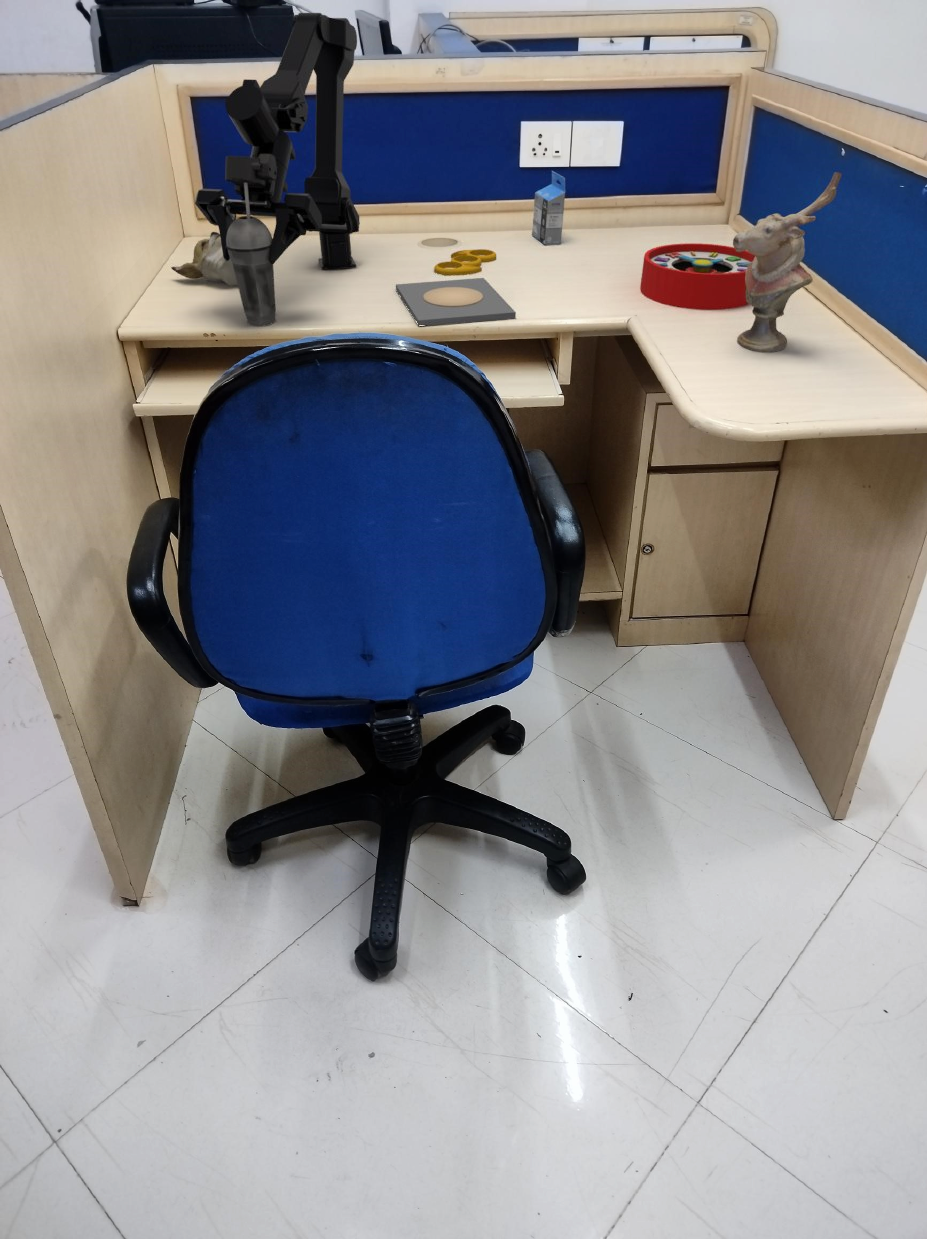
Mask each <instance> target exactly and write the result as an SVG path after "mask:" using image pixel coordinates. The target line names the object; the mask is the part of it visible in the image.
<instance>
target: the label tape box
mask: <svg viewBox="0 0 927 1239" xmlns="http://www.w3.org/2000/svg"><path fill="white" fill-rule="evenodd" d="M557 181H558V182H560V184H559V183H557ZM565 198H566V178H565V177H564V176H562V175H561V174H559V173H557V172H555V171H553V170H551V183H550V184H549V185H547V186H545V187H543V188H542V189H539V190H537V191H536V192H535V193H534V200H533V201H534V203H533V214H532V215H533V218H532V228H531V230H532V231H531V235H532V236H533V237H534V238H535V239H537V240H539V242H540V243H542V244H543V245H549V246H557V245H561V244H562V235H563V233H562V232H563V223H564V222H563V221H564V214H565V212H564V211H565V210H564V209H565Z"/></svg>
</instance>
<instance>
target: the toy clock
mask: <svg viewBox="0 0 927 1239" xmlns="http://www.w3.org/2000/svg"><path fill="white" fill-rule="evenodd" d="M754 258H755V255H753V254H751V253H749V252H748V251H747V250H745V251H742V252H737V251H736V250H735V248H734V246H729V245H728V246H727V245H722V244H714V243H713V244H712V243H702V242H701V243H697V242H696V243H695V242H693V243H691V242H689V243H687V242H686V243H672V244H665V245H660V246H656V247H653V248H651V249H649V250H647V251H646V252H645V253H644V256H643V262H642V271H641V278H640V279H641V280H640V285H639V286H640V287H639V289H640V293H641V294H642V295H643V296H644V297H645V298H646V299H649V300H651V301H654V302H656V303H659V304H662V305H666V306H669V307H676V308H680V309H687V310H699V311H700V310H701V311H717V310H718V311H719V310H720V311H721V310H730V309H732V310H733V309H737V308H742V307H746V306H748V305H749V304H748V303H747V301H746V283H745V282H746V281H745V277H746V269H747V267H748V265H749V264H750V263H751V262H752V261H754Z"/></svg>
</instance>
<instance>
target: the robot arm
mask: <svg viewBox="0 0 927 1239" xmlns="http://www.w3.org/2000/svg"><path fill="white" fill-rule="evenodd" d="M357 45H358V35H357V30H356V28H355V26H354V25H352V24H351V23H350V21H349V19H348V18H345V17H330V16H328V15H326V14H323V13H321V12H299V13H298V14H295V15H294V16H293V20H292V31H291V33H290V35H289V38H288V41H287V44H286V46H285V49H284V51H283V54H282V56H281V59H280V62H279V65H278V68H277V69H276V72H275V73H274V74H273V75H272V76H270V77H268V78H267V79H265V80H264V81H263V82H262V84H261V85H260V84H259V83H258V81H257V79H243V80H242V85H240V86H238V87H236V88H235V89H234V90H232V91H231V93H230V94H229V95H228V96H227V97H226V99H225V103H224V104H225V105H224V107H225V111H226V113H227V115H228V116H229V118H230V120H231V121H232V123H233V125H234V126H235V128H236V130H237V131H238V133H239V135H240V136H241V138H242V139H243V141H244V142H245V143H246V144H248V145H249V146H252V148H251V153H250V156H241V155H240V156H239V155H226V156H225V176H224V177H225V178H224V179H225V181H226V182H228V183H229V182H230V183H232V184H233V185H234V191H235V193H236V194H237V195H240V196H241V199H231V198H229V197H228V194H226V192H225V191H224V189H217V188H216V189H215V188H201V189H198V190H197V193H196V195H195V196H196V197H195V202H194V204H195V206H196V207H197V208H198V210H199V211H200V212H201V213H202V215H203V216H204V217H205V218H206V220H207V221H208V223H209V224H211V225H213V226H216V227H217V226H218V231H219V232H218V233H219V234H220V238H221V245H222V252H223V257H224V259H225V260H226V261H229V259H230V257H229V254H228V249H227V248H226V236H227V232H228V229H229V227H230V225H231V224H232V222H233V221H234V220H236V219H237V215H241V216H242V215H243V216H247V213H246V201H245V189H244V183H248V195H249V207H250V216H252V217H261V218H262V217H267V218H275V227H274V231H273V235H272V243H271V247H270V253H269V262H270V263H271V264H273V265H274V264H275V263H276V262H277V260H279V259H280V257H281V256H282V255H283V253H284V252H286V250H287V249H288V248H289V247H290V246H291V245H292V244H293V243H295V241H296V240H297V239H298V238H300V237H301V236H306V235H307V232H309V233H310V232H318V233H319V245H320V253H321V254H320V256H321V257H319V258H318V263H319V266H320V267H321V270H331V269H332V270H335V269H337V270H338V269H349V268H351V269H352V268H357V263H356V262H355V260H354V258H353V256H352V246H351V245H352V244H351V243H352V242H351V235H352V234H353V233H359V232H360V224H361V223H360V215H359V212H358V211H357V209H356V207H355V204H354V203H353V200H352V198H351V188H350V187H349V185H348V183H347V181H346V178H345V176H344V174H343V140H344V139H343V134H344V133H343V131H344V128H343V127H344V122H343V121H344V95H345V94H344V86H345V80H346V78H347V77H348V76H349V73H350V72H351V69H352V68H353V66H354V62H355V51H356V49H357ZM313 72H314V74H315V80H316V81H315V82H316V83H315V84H316V85H315V144H314V145H315V153H314V160H315V161H314V163H315V164H314V170H313V171H312V174H311V175H310V176H307V177H305V179H304V185H303V186H304V193H300V192H297V193H295V192H288V189H289V184H288V183H287V181H286V179H287V178H286V177H287V173H288V167H289V164H290V160H291V161H292V160H293V161H294V160H296V151H295V149H294V147H293V142H292V141H291V138H290V136H289V135H288V134H287V133H301V131H302V130H303V128H304V126H305V124H307V121H308V120H307V119H308V115H309V106H308V103H307V101H306V98H305V95H306V90H307V88H308V85H309V83H310V80H311V77H312V74H313ZM283 192H285V193H286V194H284V199H283V202H281V201H282V196H283ZM287 192H288V193H287Z"/></svg>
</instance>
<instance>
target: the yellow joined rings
mask: <svg viewBox="0 0 927 1239" xmlns="http://www.w3.org/2000/svg"><path fill="white" fill-rule="evenodd" d="M450 259H451V260H450V261H442V262H438V263H436V264H435V266H434V268H433V271H434V273H435V274H436V273H437V275H439V274H442V275H441V276H447V277H448V276H451V275H453V276H466V275H467V274H469V275H474V274H477V273H481V272H482V269H483V268H482V267H481V266H482V263H490V262H494V261H496V260H497V253H496V252H495V251H493V250H490V249H482V248H481V249H463V250H458V251H455V252H453V253H451V254H450Z"/></svg>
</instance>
